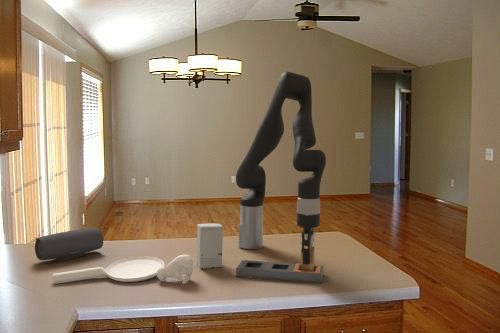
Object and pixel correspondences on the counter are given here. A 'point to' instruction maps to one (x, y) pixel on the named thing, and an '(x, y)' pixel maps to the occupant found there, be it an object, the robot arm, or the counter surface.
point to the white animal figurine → (177, 269)
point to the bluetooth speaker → (68, 244)
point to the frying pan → (116, 270)
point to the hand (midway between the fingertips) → (307, 260)
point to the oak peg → (311, 265)
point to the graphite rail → (279, 271)
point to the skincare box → (209, 245)
